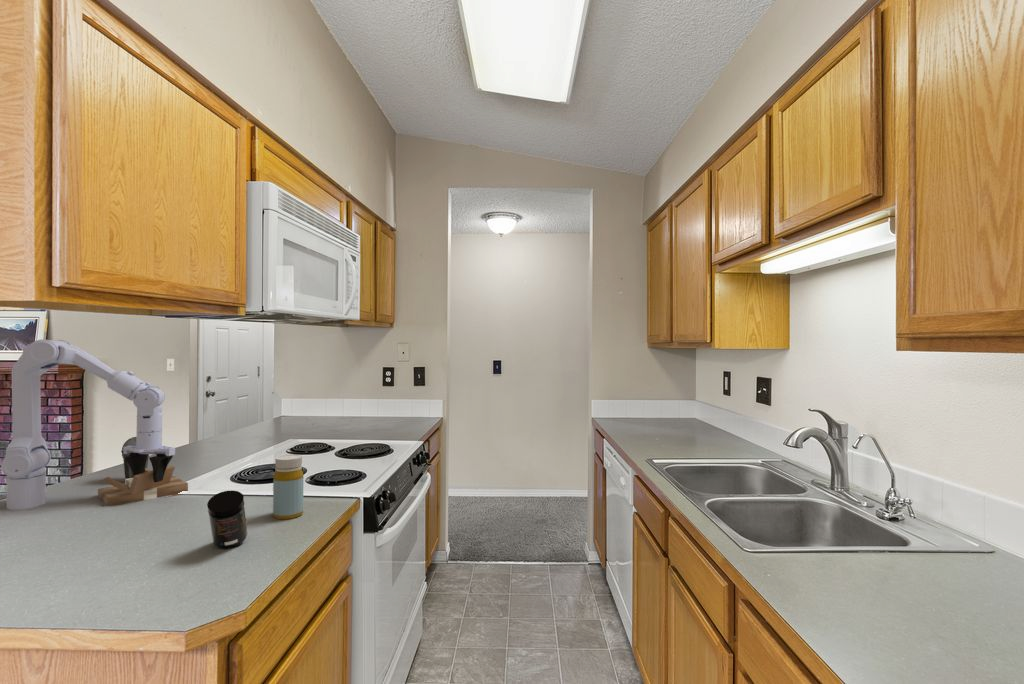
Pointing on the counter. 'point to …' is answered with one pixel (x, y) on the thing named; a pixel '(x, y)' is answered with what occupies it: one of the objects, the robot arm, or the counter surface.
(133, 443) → the beverage cup
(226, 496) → the supplement container
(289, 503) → the bottle
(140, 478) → the wooden l-shaped bracket
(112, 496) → the wooden block stack
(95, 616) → the counter surface
